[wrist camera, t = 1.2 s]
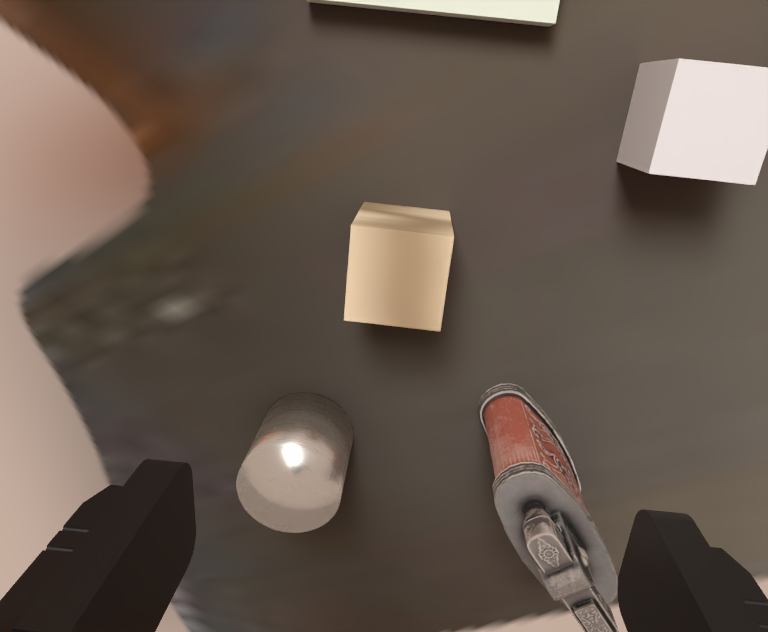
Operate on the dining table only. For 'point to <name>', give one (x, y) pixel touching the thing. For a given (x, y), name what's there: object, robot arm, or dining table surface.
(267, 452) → the metal tin
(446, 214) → the beech block
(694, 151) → the white block
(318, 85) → the dining table surface
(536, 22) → the plate
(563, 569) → the lighter
